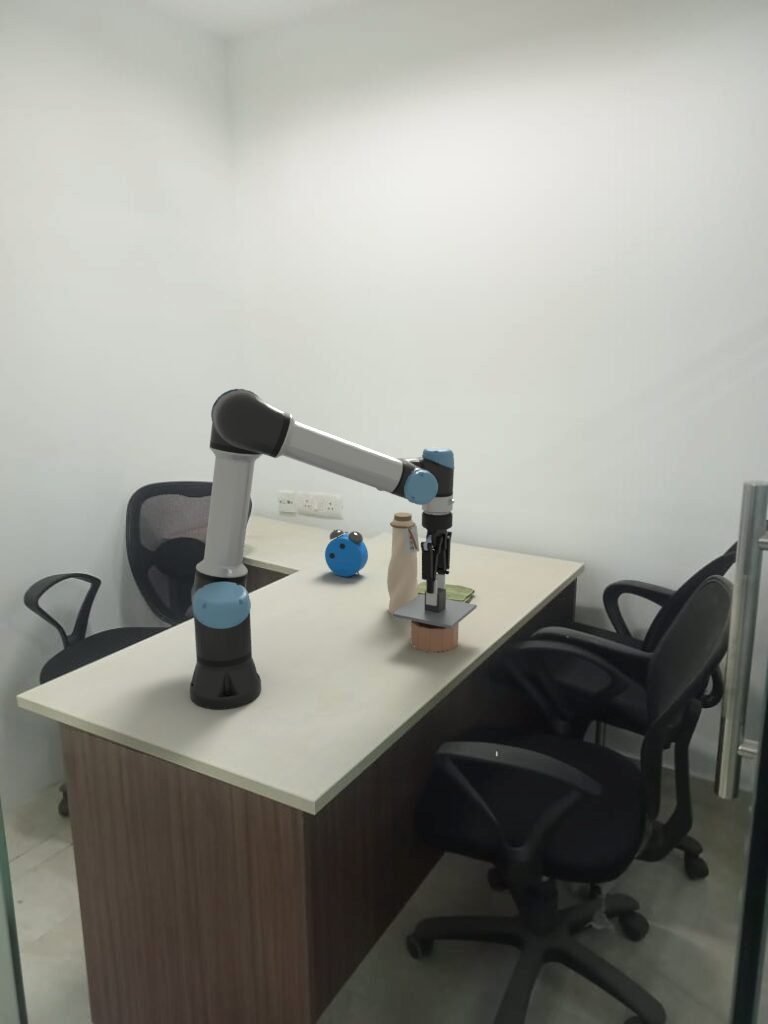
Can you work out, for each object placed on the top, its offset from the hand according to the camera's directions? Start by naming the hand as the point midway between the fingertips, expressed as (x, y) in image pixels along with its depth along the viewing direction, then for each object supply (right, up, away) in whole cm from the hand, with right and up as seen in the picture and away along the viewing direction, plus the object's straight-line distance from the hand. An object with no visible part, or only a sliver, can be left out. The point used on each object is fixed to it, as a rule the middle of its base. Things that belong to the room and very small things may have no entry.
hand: (435, 601), depth 181 cm
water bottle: (-7, -6, +24) cm, 26 cm away
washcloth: (+4, -4, +35) cm, 36 cm away
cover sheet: (0, -3, +1) cm, 3 cm away
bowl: (0, -11, +3) cm, 11 cm away
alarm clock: (-25, +2, +55) cm, 60 cm away
